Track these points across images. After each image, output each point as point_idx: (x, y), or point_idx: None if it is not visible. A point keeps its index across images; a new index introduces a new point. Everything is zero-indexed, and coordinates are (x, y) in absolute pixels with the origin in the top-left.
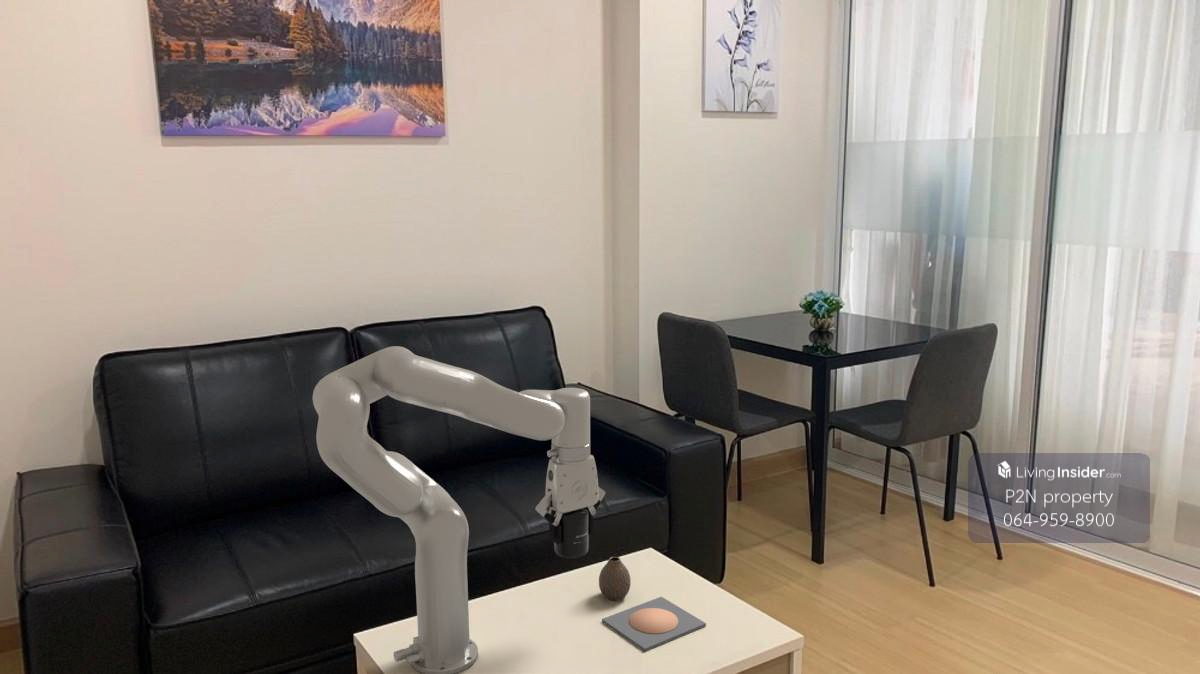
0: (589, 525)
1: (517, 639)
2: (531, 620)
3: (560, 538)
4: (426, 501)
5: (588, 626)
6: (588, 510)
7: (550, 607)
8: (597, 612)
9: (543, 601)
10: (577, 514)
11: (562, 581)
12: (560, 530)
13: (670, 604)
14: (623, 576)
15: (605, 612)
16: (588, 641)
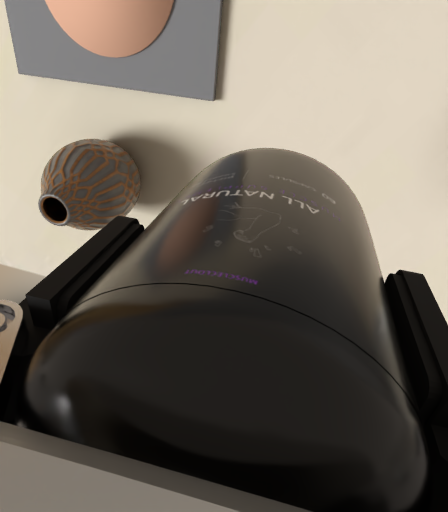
0: (108, 258)
1: (433, 195)
2: None
3: (416, 295)
4: None
5: (257, 108)
6: (16, 371)
7: None
8: (193, 145)
9: None
10: (265, 397)
11: None
12: (438, 348)
13: (16, 17)
14: (71, 155)
15: (177, 130)
16: (317, 40)
